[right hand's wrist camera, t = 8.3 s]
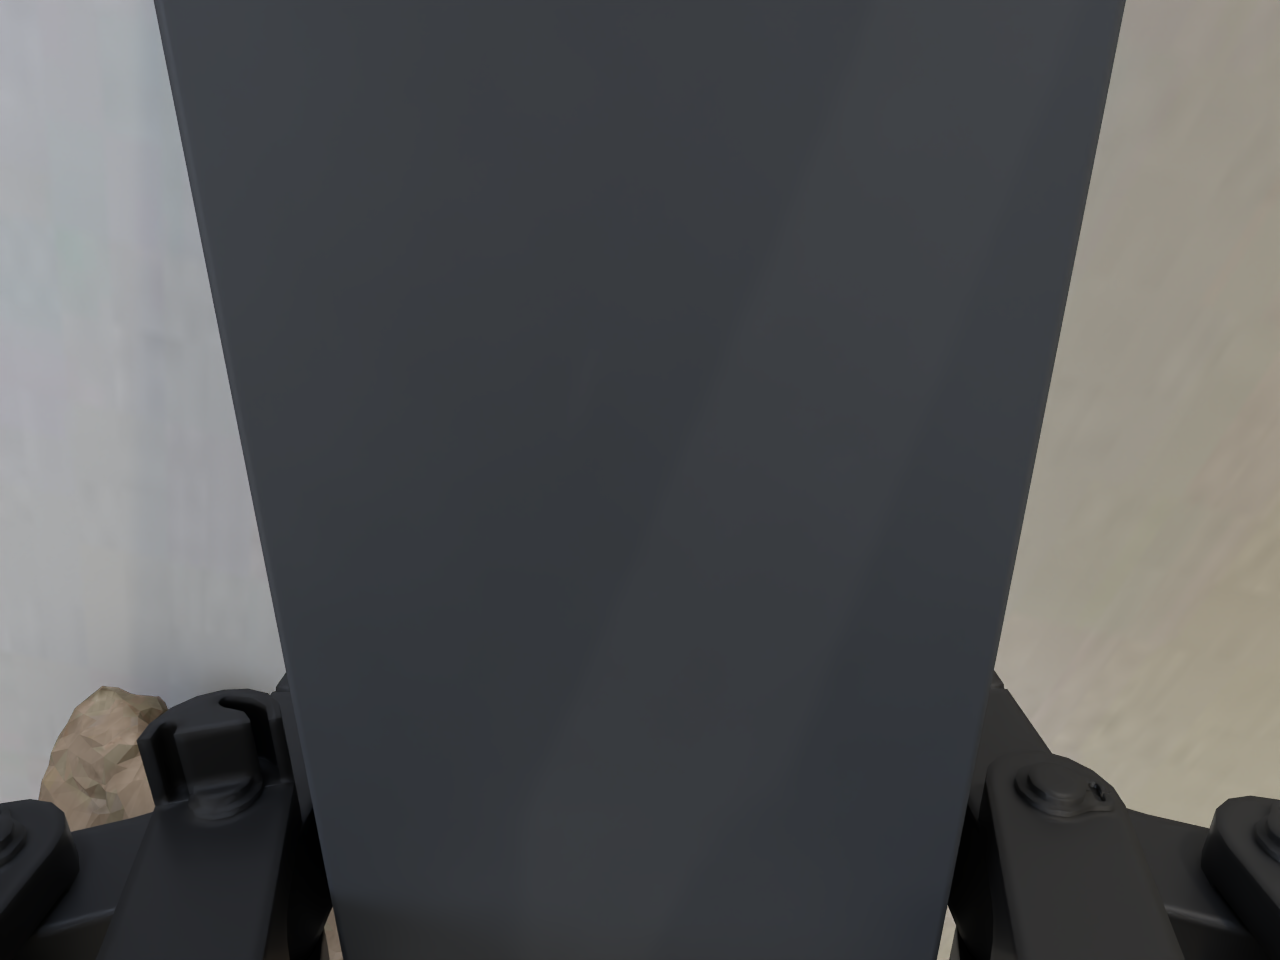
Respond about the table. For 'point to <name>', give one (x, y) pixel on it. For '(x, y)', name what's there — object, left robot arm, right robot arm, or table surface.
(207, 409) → the table surface
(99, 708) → the stone
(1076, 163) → the bar
